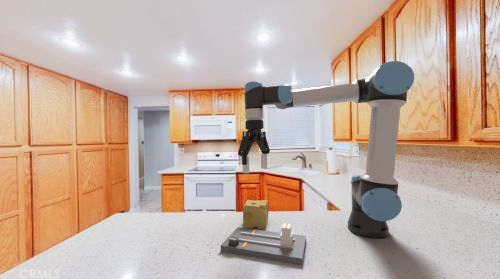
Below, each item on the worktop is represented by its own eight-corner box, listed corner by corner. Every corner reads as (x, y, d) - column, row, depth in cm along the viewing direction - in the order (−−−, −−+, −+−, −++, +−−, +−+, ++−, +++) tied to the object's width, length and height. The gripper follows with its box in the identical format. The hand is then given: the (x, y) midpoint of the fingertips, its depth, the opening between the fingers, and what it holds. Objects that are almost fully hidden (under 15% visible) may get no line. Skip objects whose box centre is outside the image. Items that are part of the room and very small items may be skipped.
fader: (293, 240, 76) (293, 223, 76) (291, 246, 72) (291, 228, 72) (282, 239, 77) (281, 222, 77) (280, 244, 74) (279, 226, 74)
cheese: (266, 229, 91) (265, 206, 91) (241, 228, 93) (241, 205, 93) (268, 220, 101) (268, 199, 101) (246, 219, 104) (246, 199, 104)
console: (305, 241, 81) (305, 231, 81) (302, 265, 65) (302, 253, 65) (237, 231, 89) (237, 223, 89) (220, 251, 74) (220, 240, 74)
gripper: (262, 122, 101) (263, 166, 101) (227, 118, 80) (229, 174, 80) (276, 120, 96) (277, 167, 96) (243, 117, 76) (245, 176, 76)
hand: (255, 170), depth 88 cm, fingers open, 13 cm apart
